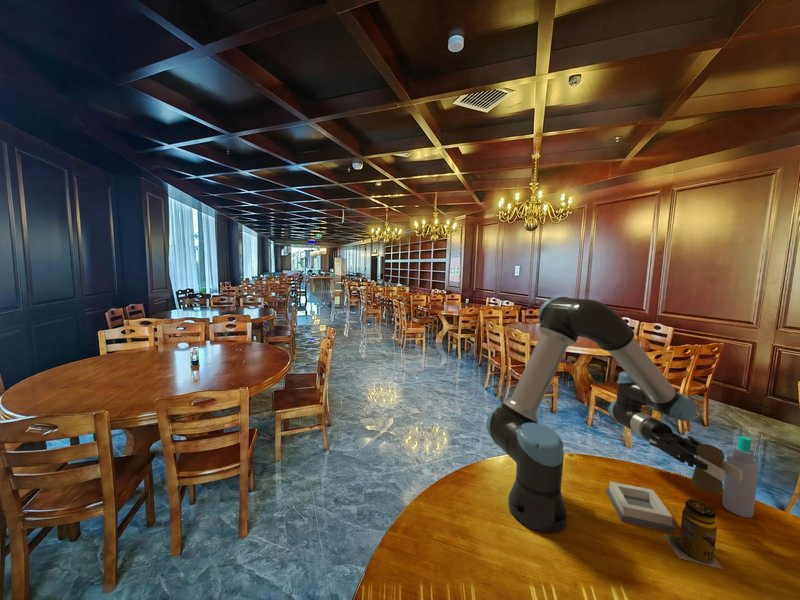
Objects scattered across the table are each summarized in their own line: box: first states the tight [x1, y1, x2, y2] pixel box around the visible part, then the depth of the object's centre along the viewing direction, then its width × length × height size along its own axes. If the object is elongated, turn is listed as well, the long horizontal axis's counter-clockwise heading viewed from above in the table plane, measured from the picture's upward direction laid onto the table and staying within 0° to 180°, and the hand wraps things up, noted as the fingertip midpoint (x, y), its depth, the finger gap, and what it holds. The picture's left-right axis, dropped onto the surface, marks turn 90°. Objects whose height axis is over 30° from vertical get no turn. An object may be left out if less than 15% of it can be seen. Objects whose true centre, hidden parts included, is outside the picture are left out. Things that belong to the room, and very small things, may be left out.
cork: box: [691, 443, 725, 495], centre depth 81 cm, size 6×6×11 cm
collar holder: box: [606, 481, 676, 534], centre depth 87 cm, size 12×12×4 cm
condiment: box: [662, 498, 724, 569], centre depth 74 cm, size 7×8×12 cm
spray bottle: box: [721, 435, 760, 519], centre depth 87 cm, size 6×6×22 cm
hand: (731, 475), depth 76 cm, fingers closed on cork, 4 cm apart
